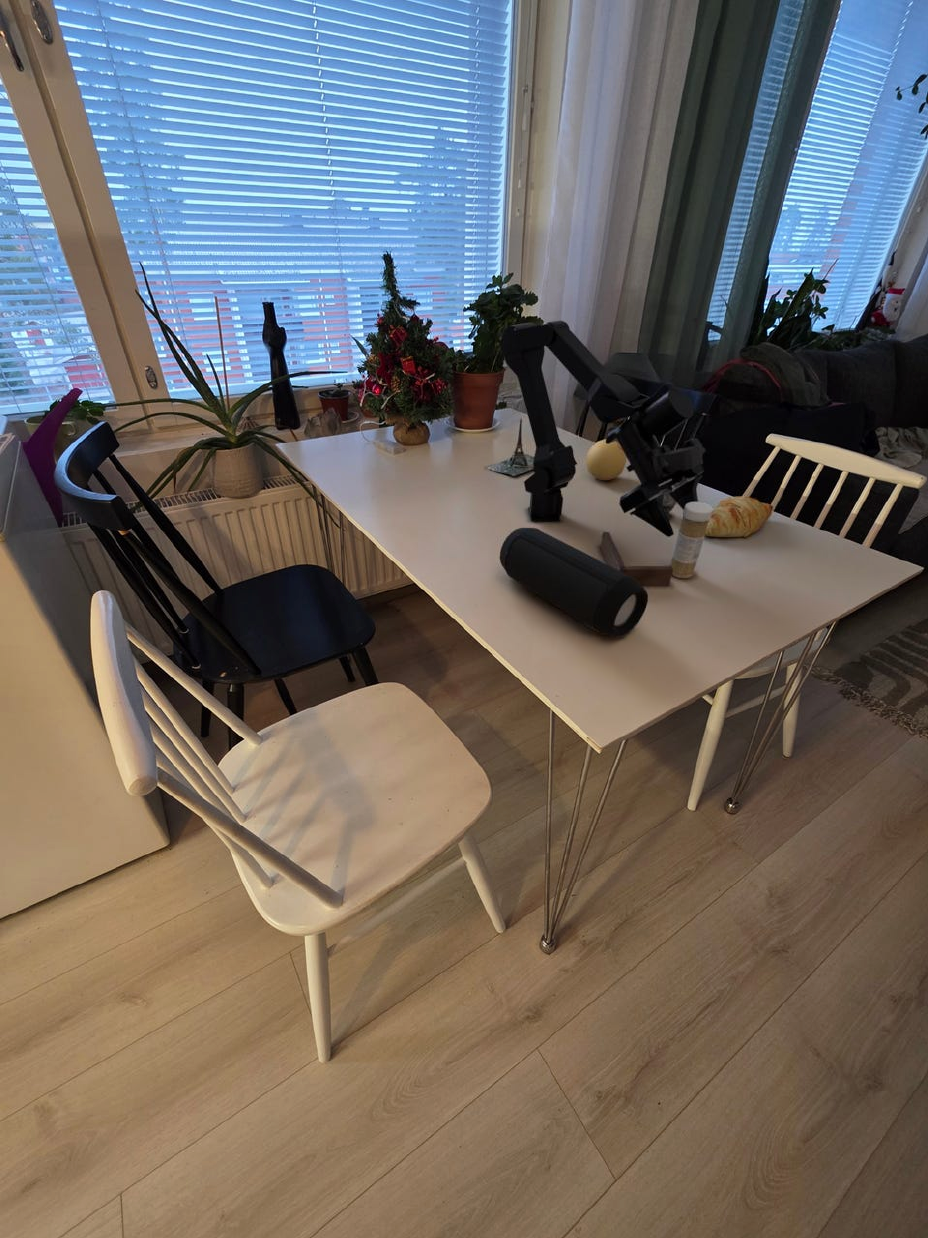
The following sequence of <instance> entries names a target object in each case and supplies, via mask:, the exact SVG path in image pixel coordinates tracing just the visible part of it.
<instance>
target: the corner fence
mask: <svg viewBox="0 0 928 1238" xmlns="http://www.w3.org/2000/svg"><path fill="white" fill-rule="evenodd" d="M599 548H600V551H601V553H602V555H603V557H604V560H605V563H606V564H607V565H609V566H611V567H613V568H615V569H617V570H619V571H621V572H623V573H625V574H627V575H629V576H631V577H633V578H635V579H636V580H637V581H638V582H639V583H640V584H641V586H642V587H669V586H670V582H671V579H672V576H673V575H672V572H673V568H672V567H671V566H670V565H625V563H624V560H623V559H622V556H621V553H620V552H619V550H618V547H617V546H616V544H615V543H614V540H613V538H612V535H611V534H610V532H609V531H602V535H601V541H600V545H599Z"/></svg>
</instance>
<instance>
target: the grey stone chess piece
mask: <svg viewBox="0 0 928 1238" xmlns="http://www.w3.org/2000/svg"><path fill="white" fill-rule="evenodd" d="M672 491H673V489H672V490H668V489H667V488H666V489H664V490H662V491H660V493H659V494H657V495H658V496H660V495H662V494H664V499H663V504H662V506H663V508H664V511H665V513H666V515H667V517H668V520H669V521H670V520H671V519H672V514H671V513H670V512H672V510H673V509H674V508H675V506H676V505H677V504H678V503H677V502H676V501H675V500H674V499H673V498H672V497H671V496H670V495H669V493H670V492H672Z"/></svg>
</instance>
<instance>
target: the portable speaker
mask: <svg viewBox="0 0 928 1238" xmlns="http://www.w3.org/2000/svg"><path fill="white" fill-rule="evenodd" d="M503 541H504V542H503V543H502V545H501V547H500V551H499V561H500V565H501V566H502V568H503V570H504V571H505V573H506V574H507V576H508V577H509V578H511V579H513V580H514V581H516V582H517V583H518V584H520V585H522V586H523V587H525V588H527V589H528V590H530V591H532V592H533V593H535V594H536V595H538V596H540V597H541V598H543V599H544V600H546V601H547V602H549V603H550V604H552V605H553V606H556V607H557V608H559V609H560V610H562V611H563V612H565V613H566V614H568V615H570V616H571V617H573V618H575V619H576V620H578V621H580V622H581V623H583V624H584V625H586V626H587V627H589V628H591V629H593V630H594V631H596V632H597V633H599V634H601V635H605V636H611V637H617V638H619V637H623V636H626V635H627V634H629V633H630V632H631V631H632V630H633V629H634V628H636V626H637V625H638V624H639V622H640V620H641V619H642V617H643V615H644V614H645V611H646V609H647V606H648V602H649V594H648V592H647V590H646V589H645V588H644V586H641V584H640V583H639V582H638V581H637V580H636V579H635V578H633V577H631V576H629V575H627V574H625V573H623V572H621V571H619V570H617V569H615V568H613V567H611V566H609V565H608V564H607V563H606V562H603V561H601V560H599V559H597V558H596V557H594V556H592V555H589V554H588V553H586V552H584V551H582V550H580V549H578V548H577V547H576V548H575V547H574V546H572V545H570V544H568V543H566V542H564V541H563V540H560V539H558V538H556V537H554V536H553V535H550V534H548V533H547V532H544V531H543V530H541V529H539V528H536V527H519V528H516V529H514V530H512V531H511V532H510V533H509V534H508V535H507V536H506V538H505V539H504V540H503Z"/></svg>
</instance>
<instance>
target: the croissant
mask: <svg viewBox="0 0 928 1238" xmlns="http://www.w3.org/2000/svg"><path fill="white" fill-rule="evenodd" d="M773 508H774V507H773V505H772V504H769V503H767V502H762V501H760V500H759V499H757V498H754V497H750V496H743V495H742V496H740V495H739V496H732V497H731V496H730V497H727V498H724V499H723V500H721V501H720V502H718V503H717V505H716V508H715V509H714V508H713V511H712V515H711V519H710V520H709V522H708V525H707V528H706V532H705V537H706V536H707V537H714V538H737V537H738V538H742V537H745V538H746V537H748V536H750V535H751V534H754V533H756V532H757V531H758V530H760V528H761V527H762V526H763V525H764V524H765V523H766V521H767V520H768V519H770V517H771V516H772V513H773Z"/></svg>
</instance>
